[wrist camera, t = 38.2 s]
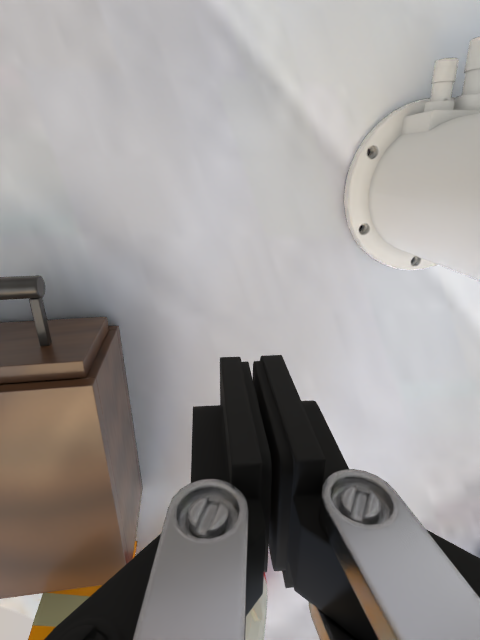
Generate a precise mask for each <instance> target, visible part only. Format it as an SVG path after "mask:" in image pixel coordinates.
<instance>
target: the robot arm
mask: <svg viewBox="0 0 480 640" xmlns="http://www.w3.org/2000/svg"><path fill="white" fill-rule="evenodd" d="M458 61H459V59H458V58H446V59H440V60H437V61H435V64H434V71H433V77H432V91H431V97H430V98H428V99H422V100H419V101H416V102H413V103H409V104H407V105H405V106H403V107H401V108H399V109H397V110H395V111H393V112H392V113H391V114H389V115H388V116H387V117H385V118H384V119H383V120H381V121H380V122H379V123H378V124H377V125H376V126H375V127H374V128H373V129H372V131H371V132H370V133H369V134H368V135H367V136H366V138H365V139H364V141H363V142H362V144H361V145H360V147H359V148H358V150H357V152H356V154H355V156H354V158H353V161H352V163H351V165H350V168H349V172H348V176H347V179H346V183H345V194H344V205H345V216H346V219H347V223H348V226H349V230H350V231H351V233H352V235H353V237H354V239H355V241H356V243H357V244H358V245H359V246H360V247H361V248H362V250H363V251H364V252H365V253H366V254H368V255H369V256H370V257H372V258H373V259H374V260H376V261H378V262H380V263H382V264H384V265H386V266H389V267H392V268H395V269H401V270H420V269H426V268H430V267H433V266H437V265H440V266H443V267H445V268H448V269H450V270H453V271H455V272H458V273H460V274H463V275H465V276H468V277H470V278H473V279H475V280H478V281H480V37H477V38H474V39H472V40H471V41H470V43H469V48H468V54H467V60H466V65H465V71H464V73H465V79H464V84H463V90H462V95H461V96H458V97H456V98H451V95H452V89H453V83H454V82H455V78H456V72H457V67H458ZM368 149H369V150H370V155H369V156H367V151H368ZM361 225H362V229H361V230H359V228H360V226H361ZM220 403H221V405H218V406H199V407H193V427H192V463H191V483H190V484H188V485H187V486H185V487H184V488H182V489H180V491H179V492H178V493H177V494H176V495H175V496H174V497H173V499H172V501H171V503H170V505H169V507H168V511H167V514H166V518H165V522H164V526H163V529H162V533H161V534H160V535H159V536H158V537H157V538H155V539H154V540H153V541H152V542H151V543H150V544H149V545H148V546H146V547H145V548H144V549H143V550H142V551H141V552H140V553H139V554H137V555H136V556H135V557H134V558H133V559H132V560H131V561H130V562H128V563H127V564H126V565H125V566H124V567H123V568H122V569H120V570H119V571H118V572H117V573H116V574H115V575H114V576H113V577H111V578H110V579H109V580H108V581H107V582H106V583H105V584H104V585H102V586H101V587H100V588H99V589H98V590H97V591H96V592H95V593H93V594H92V595H91V596H90V597H89V598H88V599H87V600H86V601H84V602H83V603H82V604H81V605H80V606H79V607H78V608H77V609H75V610H74V611H73V612H72V613H71V614H70V615H69V616H68V617H66V618H65V619H64V620H63V621H62V622H61V623H60V624H58V625H57V626H56V627H55V628H54V629H53V630H52V631H51V632H50V634H49V635H48V636H47V637H46V638H45V639H44V640H245V635H246V616H247V615H248V613H249V612H250V611H251V609H252V608H253V606H254V605H255V604H256V602H257V601H258V600H259V598H260V597H261V595H262V594H263V581H264V572H267V562H268V543H269V549H270V554H271V560H272V565H273V569H274V571H282V572H283V577H284V582H285V587H286V588H290V587H294V590H295V591H296V592H297V593H299V594H300V595H301V596H302V597H304V598H305V599H306V600H308V601H309V609H310V613H311V617H312V620H313V622H314V625H315V628H316V630H317V633H318V635H319V638H320V640H480V558H478V557H476V556H474V555H472V554H470V553H469V552H467V551H465V550H463V549H461V548H459V547H457V546H456V545H454V544H452V543H450V542H448V541H446V540H445V539H443V538H441V537H439V536H437V535H435V534H433V533H432V532H430V531H428V530H426V529H425V528H424V527H423V525H422V524H421V523H420V522H419V520H418V519H417V518H416V517H415V515H414V514H413V513H412V511H411V510H410V509H409V508H408V506H407V505H406V504H405V503H404V501H403V500H402V499H401V497H400V496H399V495H398V494H397V492H396V491H395V490H394V489H393V488H392V487H391V486H390V485H389V484H388V483H387V482H386V481H384V480H382V479H381V478H379V477H378V476H376V475H373V474H371V473H368V472H366V471H361V470H355V469H349V468H348V466H347V464H346V462H345V460H344V458H343V456H342V454H341V452H340V450H339V448H338V445H337V443H336V441H335V439H334V437H333V435H332V433H331V431H330V429H329V427H328V425H327V423H326V421H325V419H324V417H323V415H322V413H321V411H320V409H319V406H318V405H317V403H316V402H315V401H301V400H300V397H299V395H298V393H297V390H296V388H295V386H294V383H293V381H292V378H291V376H290V374H289V371H288V369H287V367H286V364H285V362H284V360H283V357H282V356H281V355H272V356H261V359H260V361H254V363H253V380H252V376H251V371H250V367H249V363H248V362H241V358H240V357H222V358H220Z"/></svg>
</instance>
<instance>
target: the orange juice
mask: <svg viewBox="0 0 480 640" xmlns="http://www.w3.org/2000/svg"><path fill="white" fill-rule="evenodd" d="M136 546H137V541H135V545H134V552H133V558H134V557H135V553H136ZM101 586H102V585H99V586H92V587H84V588H77V589H69V590H62V591H54V592H47V593H43V595H42V598H41V601H40V604H39V607H38V610H37V613H36V616H35V619H34V622H33V625H32V629H31V632H30V635H29V639H28V640H44V639H45V638H46V637H47V636H48V635H49V634H50V632H51V631H52V630H53V629H54V628H55V627H56V626H57V625H58V624H60V623H61V622H62V621H63V620H64V619H65V618H66V617H68V616H69V615H70V614H71V613H72V612H73V611H74V610H75V609H77V608H78V607H79V606H80V605H81V604H82V603H83V602H84V601H86V600H87V599H88V598H89V597H90V596H91V595H92V594H93V593H95V592H96V591H97V590H98V589H99V588H100V587H101Z"/></svg>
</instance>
